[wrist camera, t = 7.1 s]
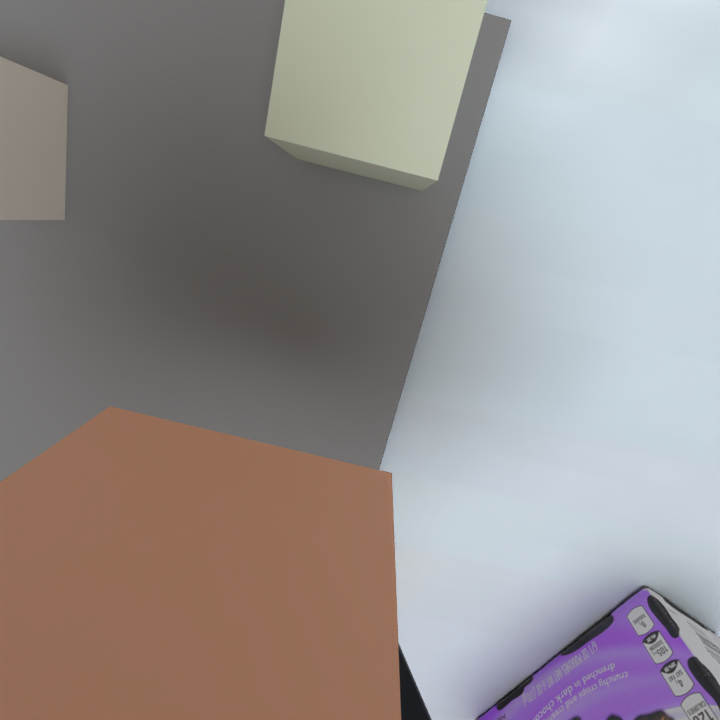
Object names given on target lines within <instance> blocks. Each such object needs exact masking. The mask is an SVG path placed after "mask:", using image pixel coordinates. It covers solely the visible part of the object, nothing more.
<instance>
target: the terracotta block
mask: <svg viewBox="0 0 720 720" xmlns="http://www.w3.org/2000/svg"><path fill="white" fill-rule="evenodd" d="M0 720H401V702H400V676H399V650H398V624H397V598H396V572H395V546H394V520H393V494H392V473H389V472H385V471H380V470H376V469H372V468H368V467H364V466H359V465H355V464H351V463H347V462H343V461H338V460H334V459H330V458H326V457H322V456H317V455H313V454H309V453H305V452H301V451H296V450H292V449H288V448H284V447H280V446H275V445H271V444H267V443H263V442H258V441H254V440H250V439H246V438H242V437H237V436H233V435H229V434H225V433H221V432H216V431H212V430H208V429H204V428H200V427H195V426H191V425H187V424H183V423H179V422H174V421H170V420H166V419H162V418H158V417H153V416H149V415H145V414H141V413H137V412H132V411H128V410H124V409H120V408H116V407H111V406H110V407H108V408H107V409H105V410H104V411H102V412H101V413H99V414H98V415H97V416H95V417H94V418H92V419H91V420H89V421H88V422H86V423H85V424H84V425H82V426H81V427H79V428H78V429H76V430H75V431H73V432H72V433H70V434H69V435H68V436H66V437H65V438H63V439H62V440H60V441H59V442H57V443H56V444H55V445H53V446H52V447H50V448H49V449H47V450H46V451H44V452H43V453H41V454H40V455H39V456H37V457H36V458H34V459H33V460H31V461H30V462H28V463H27V464H25V465H24V466H23V467H21V468H20V469H18V470H17V471H15V472H14V473H12V474H11V475H10V476H8V477H7V478H5V479H4V480H2V481H1V482H0Z"/></svg>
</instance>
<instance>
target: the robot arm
mask: <svg viewBox="0 0 720 720" xmlns="http://www.w3.org/2000/svg"><path fill="white" fill-rule="evenodd" d="M398 650H399V676H400V702H401V720H431V717H430V715H429V713H428V710H427V708H426V706H425V703H424V701H423V699H422V697H421V694H420V692H419V690H418V687H417V685H416V683H415V680H414V678H413V676H412V673H411V671H410V669H409V666H408V664H407V662H406V660H405V657H404V655H403V653H402V650H401V648H400V646H399V643H398Z"/></svg>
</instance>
